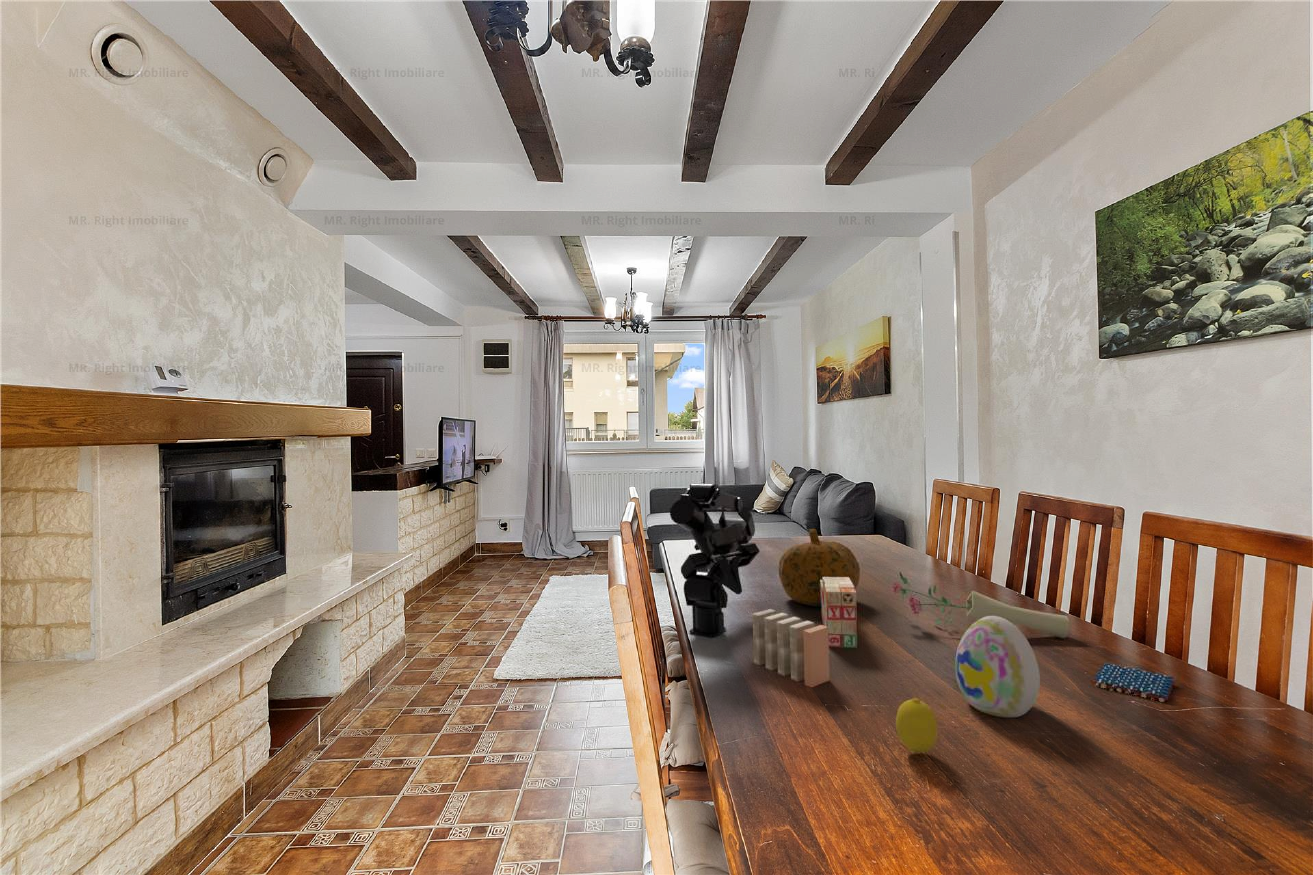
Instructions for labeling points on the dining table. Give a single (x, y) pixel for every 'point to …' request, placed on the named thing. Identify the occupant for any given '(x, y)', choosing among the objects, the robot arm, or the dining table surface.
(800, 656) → the domino
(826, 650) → the domino
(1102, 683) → the woven mat
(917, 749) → the lemon
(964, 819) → the dining table surface
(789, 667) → the domino
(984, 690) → the decorative egg
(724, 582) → the robot arm
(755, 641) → the domino
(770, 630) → the domino
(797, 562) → the decorative pumpkin
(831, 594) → the stack of blocks
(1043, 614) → the flower vase
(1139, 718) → the dining table surface
